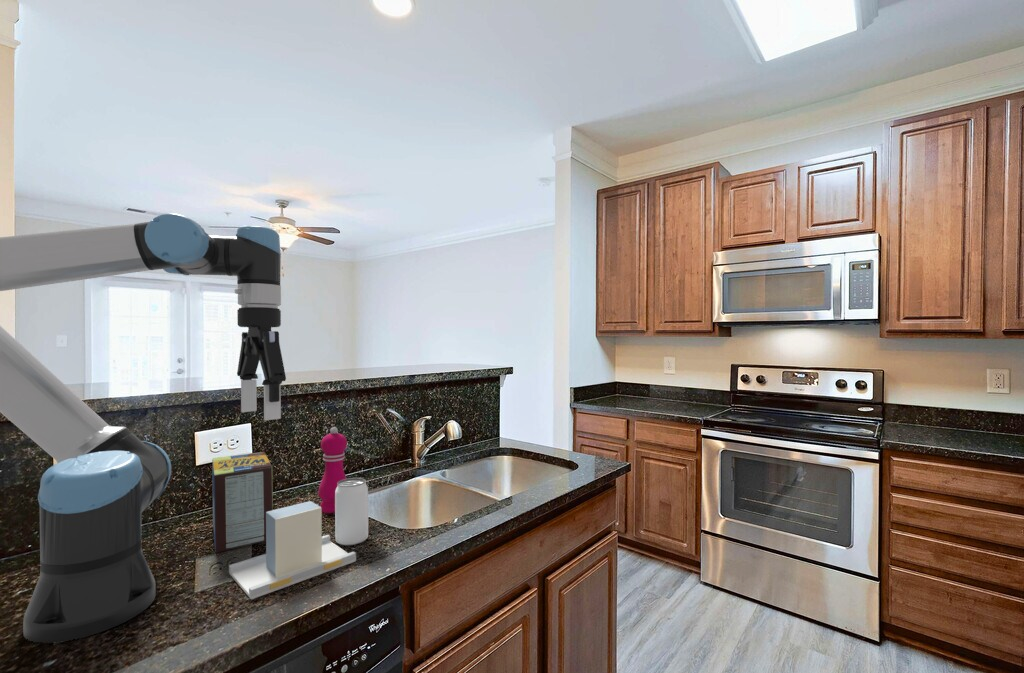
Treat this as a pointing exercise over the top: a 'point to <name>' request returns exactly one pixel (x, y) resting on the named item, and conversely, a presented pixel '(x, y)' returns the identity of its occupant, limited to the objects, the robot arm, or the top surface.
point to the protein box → (241, 499)
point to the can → (351, 511)
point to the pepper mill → (332, 468)
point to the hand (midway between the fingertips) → (260, 415)
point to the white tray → (262, 581)
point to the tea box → (293, 538)
